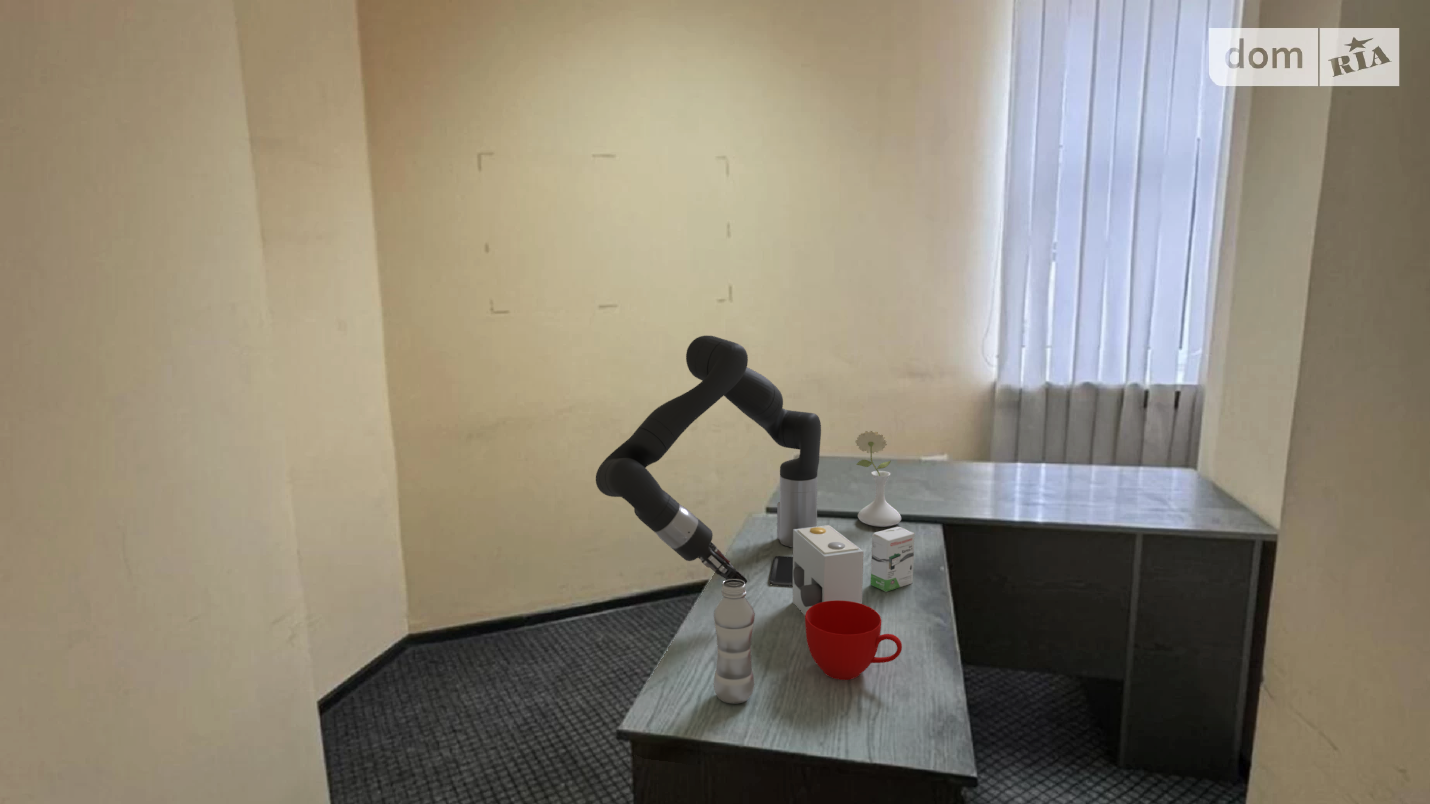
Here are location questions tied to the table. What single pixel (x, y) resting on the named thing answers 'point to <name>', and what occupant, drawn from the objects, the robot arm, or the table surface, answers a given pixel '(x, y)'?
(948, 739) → the table surface
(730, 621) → the plastic bottle
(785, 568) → the phone
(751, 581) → the table surface
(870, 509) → the flower in vase
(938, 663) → the table surface
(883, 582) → the ink box
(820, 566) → the console
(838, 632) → the ceramic cup
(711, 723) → the table surface
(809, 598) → the button
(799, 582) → the button
